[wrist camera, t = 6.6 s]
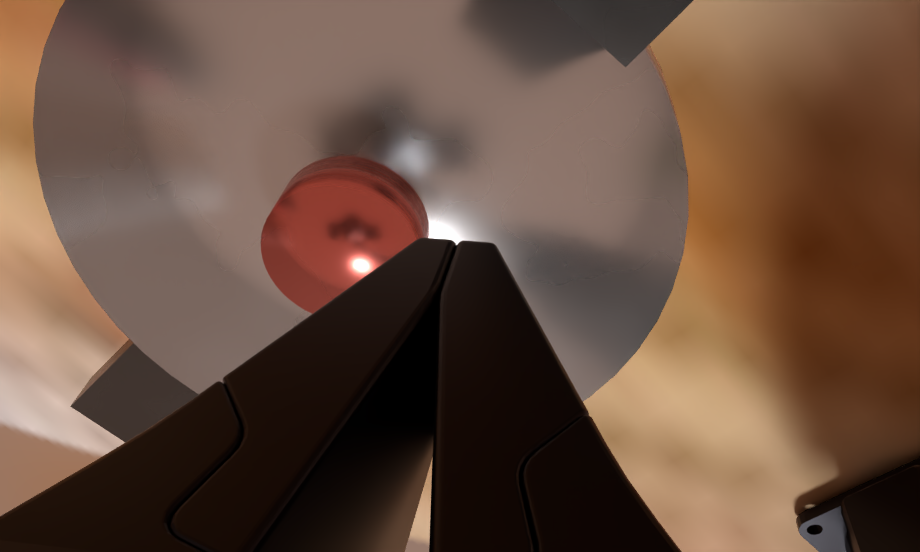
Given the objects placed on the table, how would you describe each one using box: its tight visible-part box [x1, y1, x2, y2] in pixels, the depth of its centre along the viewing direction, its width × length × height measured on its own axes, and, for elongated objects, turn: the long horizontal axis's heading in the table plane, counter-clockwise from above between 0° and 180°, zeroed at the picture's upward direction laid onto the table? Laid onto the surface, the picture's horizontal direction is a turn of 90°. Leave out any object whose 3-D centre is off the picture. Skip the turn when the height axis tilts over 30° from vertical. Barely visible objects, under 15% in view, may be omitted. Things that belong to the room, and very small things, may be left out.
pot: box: [71, 339, 198, 442], centre depth 19 cm, size 12×23×4 cm, turn 136°
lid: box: [33, 0, 693, 401], centre depth 14 cm, size 21×13×2 cm, turn 141°
